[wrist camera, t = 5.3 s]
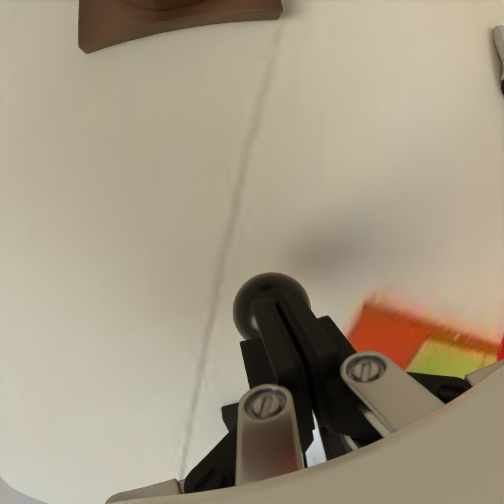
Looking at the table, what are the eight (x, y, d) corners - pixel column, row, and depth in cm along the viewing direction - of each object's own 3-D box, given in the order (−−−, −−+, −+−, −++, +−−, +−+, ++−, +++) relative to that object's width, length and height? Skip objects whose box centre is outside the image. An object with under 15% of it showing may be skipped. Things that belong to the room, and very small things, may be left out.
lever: (225, 284, 14) (221, 284, 11) (291, 265, 14) (306, 260, 11) (308, 539, 13) (318, 569, 9) (354, 523, 13) (369, 551, 10)
